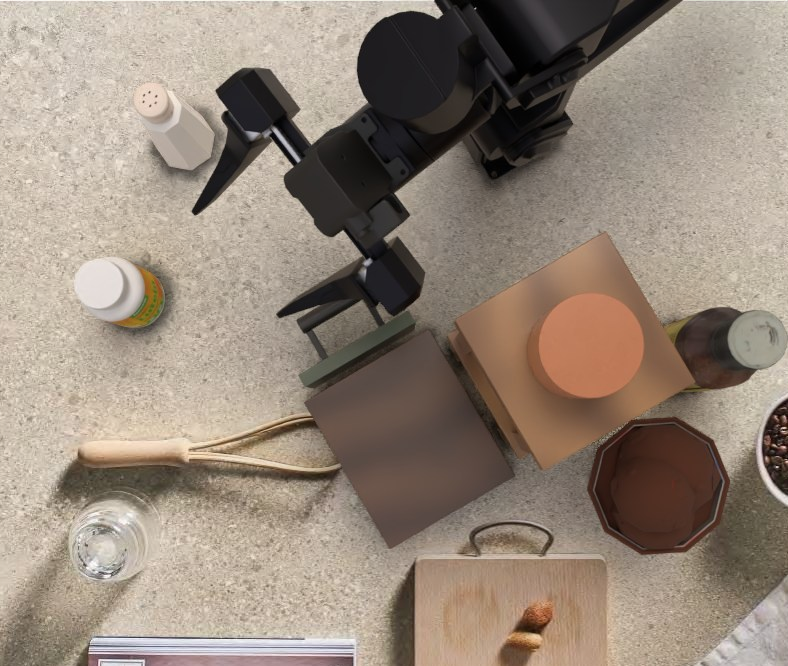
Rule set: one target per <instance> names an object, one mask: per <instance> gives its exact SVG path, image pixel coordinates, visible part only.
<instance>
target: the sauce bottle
mask: <svg viewBox="0 0 788 666" xmlns="http://www.w3.org/2000/svg"><path fill="white" fill-rule="evenodd" d="M663 328H664V329H665V331H666V333H667V334H668V336H669V338H670V339H671V341H672V343H673V344H674V346H675V348H676V350H677V351H678V353H679V355H680V356H681V358H682V360H683V361H684V363H685V365H686V366H687V368H688V370H689V371H690V373H691V375H692V376H693V378H694V380H695V383H694V384H692V385H691V386H689V387H687V388H685V389H684V390H682V391H680V392H681V393H695V392H706V391H716V390H717V391H718V390H724V389H729V388H732V387H736V386H737V387H738V386H739V385H742V384H744V383H745V382H748V381H749V380H750V379H751V378H752V376H753V375H754V374H755V373H756V372H757V371H762V370H765V369H768V368H771V367H772V366H775V365H776V364H777V363H778V362H779V361H781V359H782V358H783V357H784V355H785V353H786V351H787V349H788V332H787V329H786V327H785V326H784V324H783V322H782V321H781V319H780V318H778V317H777V316H776V315H775V314H773V313H772V312H770V311H767V310H764V309H752V310H747V311H743V312H742V311H741V310H738V309H736V308H732V307H729V306H715V307H711V308H706V309H704V310H702V311H699V312H697V313H694V314H690V315H688V316H686V317H683V318H681V319H678V320H675V321H673V322H671V323H668V324H667V325H665V326H663ZM680 392H679V393H680Z"/></svg>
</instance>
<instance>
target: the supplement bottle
mask: <svg viewBox="0 0 788 666" xmlns="http://www.w3.org/2000/svg"><path fill="white" fill-rule="evenodd" d="M73 289H74V293H75V296H76V297H77V299H78V300H79V301H80V302H81V304H82V306H83V308H84V309H85V311H87V312H88V313H89V314H90V316H93V317H94V318H96V319H99V320H100V321H104V322H106V323H110V324H114V325H119V326H121V327H125V328H130V329H139V328H144V327H147V326H149V325H151V324H153V323H154V322H155V321H157V319H158V318H159V317H160V316H161V314H162V313H163V310H164V307H165V303H166V294H165V289H164V287H163V285H162V283H161V281H160V280H159V279H158V278H157V276H155V275H154V274H153V273H151V272H150V271H148V270H146V269H144V268H143V267H140V266H139V265H136V264H134V263H133V262H132V261H129V260H128V259H125V258H122V257H119V256H111V255H110V256H104V257H99V258H95V259H91V260H89V261H86V262H85V263H83V264H82V265H81V266H80V267H79V268H78V270H77V271H76V273H75V276H74V280H73Z"/></svg>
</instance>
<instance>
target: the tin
mask: <svg viewBox="0 0 788 666" xmlns="http://www.w3.org/2000/svg"><path fill="white" fill-rule="evenodd" d="M643 354H644V337H643V332H642V329H641V326H640V324H639V322H638V320H637V318H636V317H635V315H634V314H633V312H632V311H631V310H630V309H629V308H628V307H627V306H626V305H624V304H623V303H622V302H620V301H619V300H617V299H615V298H613V297H611V296H608V295H605V294H600V293H582V294H578V295H574V296H572V297H569V298H567V299H565V300H564V301H562V302H561V303H559V304H558V305H556V306H555V307H553V308H552V309H550V310H549V311H547V312H546V313H545V314H544V315H542V316H541V317H540V318H539V320H538V321H537V322H536V323H535V325H534V326H533V328H532V330H531V332H530V335H529V338H528V343H527V358H528V363H529V366H530V369H531V371H532V373H533V375H534V377H535V378H536V380H537V381H538V382H539V383H540V384H541V385H542V386H543V387H544V388H545V389H547V390H548V391H550V392H551V393H553V394H555V395H557V396H560V397H564V398H569V399H587V398H600V397H605V396H608V395H611V394H613V393H615V392H617V391H619V390H620V389H622V388H623V387H625V386H626V385H627V384H628V383H629V382H630V381H631V380H632V379H633V377H634V376H635V374H636V373H637V371H638V369H639V367H640V365H641V362H642V359H643Z"/></svg>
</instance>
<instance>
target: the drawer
mask: <svg viewBox="0 0 788 666" xmlns="http://www.w3.org/2000/svg"><path fill="white" fill-rule="evenodd" d="M362 301H363V304H364V305H365V306H366V308H367V310H368V311H369V313H370V315H371V316H372V319H373V320H374V322H375V323H376V326H377V328H375V329H373V330H372V331H370V332H368V333H367V334H365V335H363V336H361V337H360V338H358V339H356V340H355V341H353V342H351V343H350V344H348V345H346V346H344V347H343V348H341V349H339V350H338V351H335V352H334V353H333V354H331V355H328V354H327V352H326V350H325V348H324V346H323V345H322V343H321V341H320V340H319V338H318V336H317V335H316V333H315V331H314V329H316V328H318V327H319V326H321V325H322V324H324V323H326V322H328V321H330V320H331V319H333V318H335V317H336V316H339V314H341V313H343V312H345V311H347V310H348V309H350V308H352V307H353V306H355V305H357V304H359V303H360V302H362ZM295 322H296V325H298V328H299V329H300V330H301V332H302V334H304V335H305V334H306V336H307V337H308V339H309V341H310V343H311V345H312V346H313V348H314V349H315V351H316V353H317V354H318V356H319V358H320V360H321V361H319V362H316V363H315V364H314V365H312V366H310V367H309V368H307V369H305V370H304V371H302V372H300V373H298V374H297V377H298V378H299V379H300V382H301V383H302V385H303V387H304V388H307V389H313V390H315V389H317V388H319V387H321V386H323V385H324V384H326V383H328V382H329V381H331V380H332V379H334V378H336V377H338V376H340V375H341V374H342V373H344V372H346V371H348V370H350V369H351V368H353V367H354V366H357V365H358V364H360V363H361V362H363V361H365V360H367V359H368V358H370V357H372V356H374V355H375V354H377V353H379V352H380V351H382V350H383V349H385V348H387V347H389V346H390V345H392V344H394V343H395V342H397V341H400V340H401V339H402V338H404V337H405V336H408V335H409V334H411V333H412V332H414V331H416V323H417V322H416V320H415V319H414V316H413V315H412V313H411V312H410V309H409V310H408V309H407V310H406V311H404V312H401V313H400V314H398V315H396V316H395V317H393V318H392V319H390V320H388V321H387V322H385V321H384V319H383V317H382V316H381V314H380V312H379V311H378V309H377V306H376V307H374V308H371V307H369V306H368V305H367V304H366V302H365V301H364V300H362V299H346V300H340V301H334V302H330V303H326V304H323V305H319V306H316V307H314V308H312V310H310V311H308V312H307V313H304V314H303V315H302V316H299V317H297V318H296V319H295Z"/></svg>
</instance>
